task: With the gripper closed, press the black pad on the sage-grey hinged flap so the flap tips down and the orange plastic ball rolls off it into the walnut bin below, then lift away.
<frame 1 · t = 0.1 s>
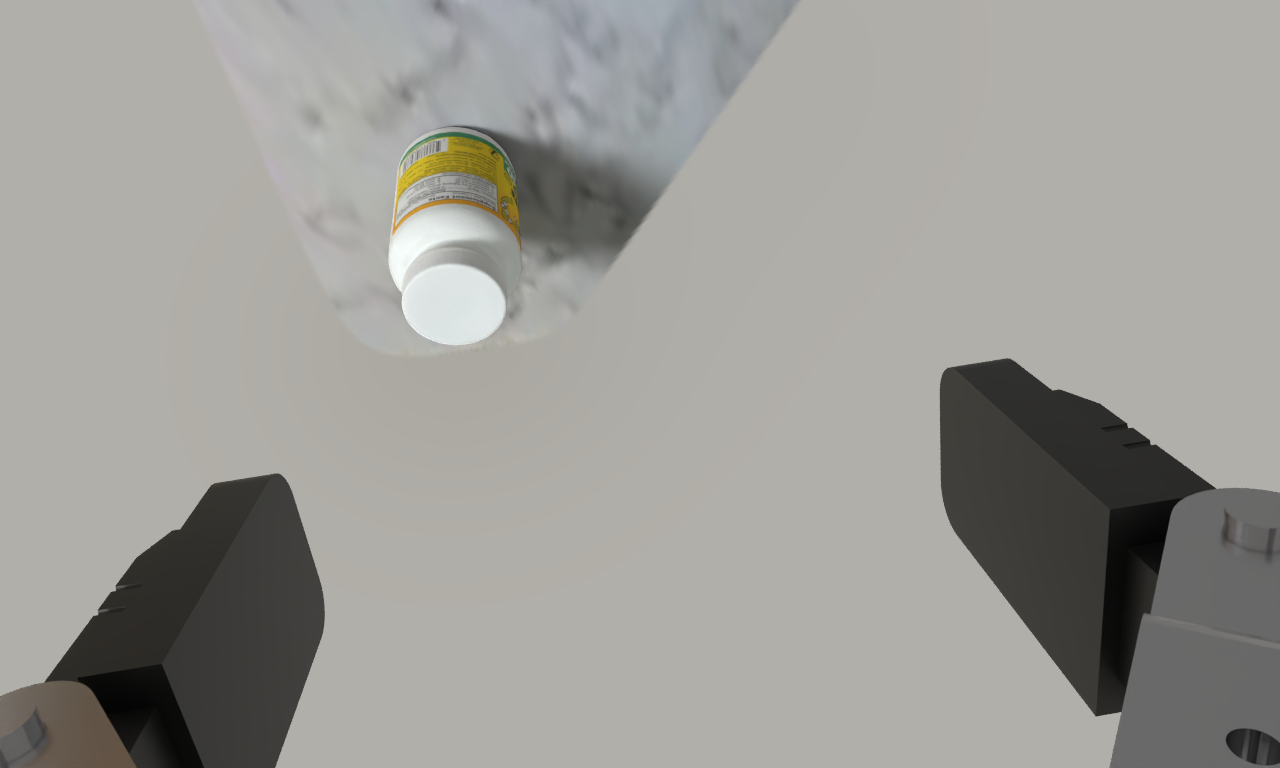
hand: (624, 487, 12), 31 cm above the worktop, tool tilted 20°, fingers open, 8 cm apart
supplement bottle: (457, 175, 43), on the worktop
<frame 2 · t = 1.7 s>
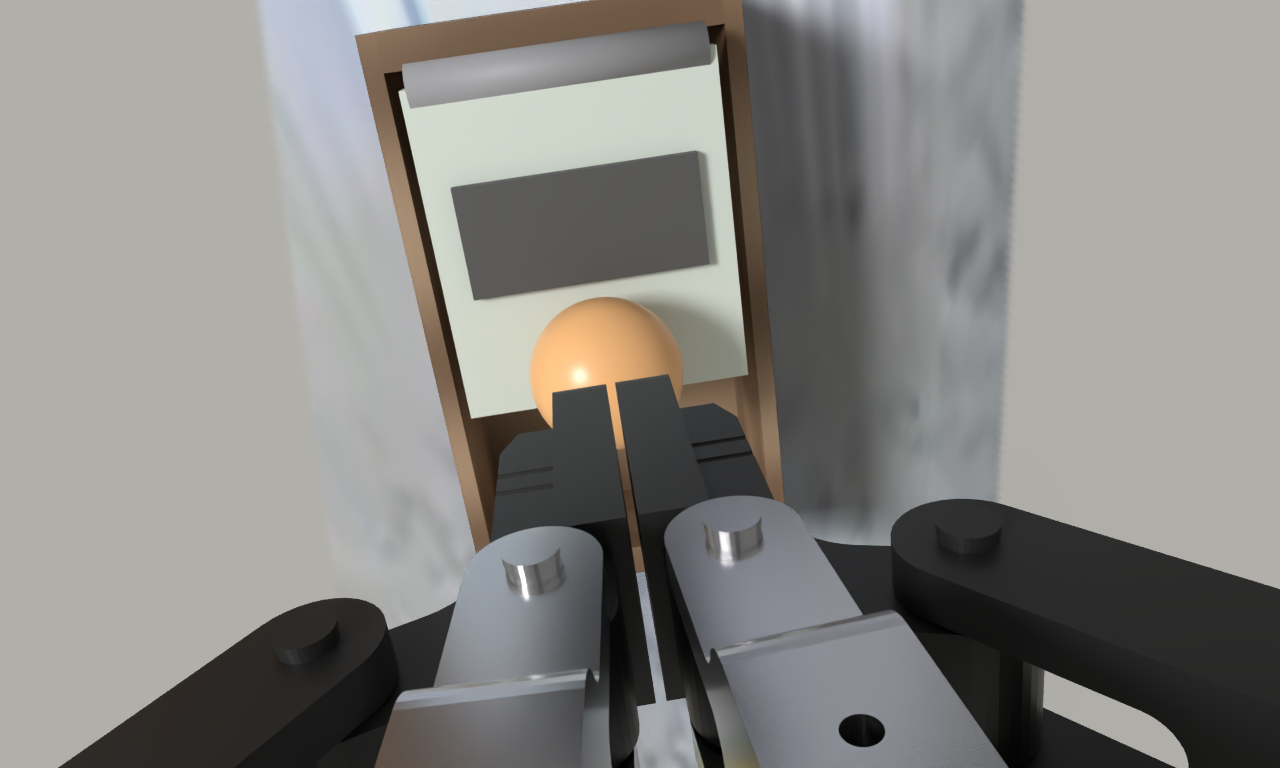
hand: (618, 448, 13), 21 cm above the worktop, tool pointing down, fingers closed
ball: (606, 373, 25), point 9 cm above the worktop, touching flap
bin: (591, 279, 33), on the worktop
flap: (583, 229, 25), point 7 cm above the worktop, hinge at 0.0°, touching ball
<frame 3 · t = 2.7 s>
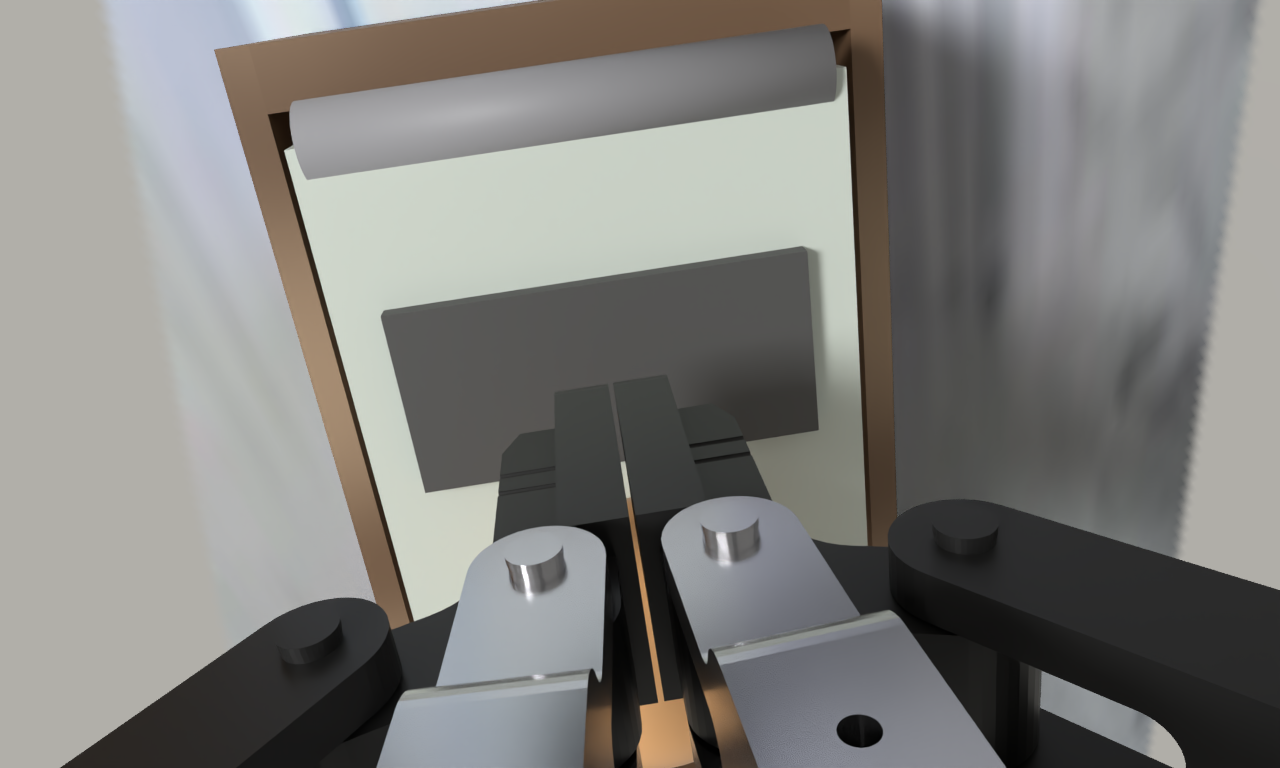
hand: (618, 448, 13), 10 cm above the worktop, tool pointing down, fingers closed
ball: (649, 627, 14), point 9 cm above the worktop, touching flap
bin: (612, 392, 23), on the worktop
flap: (609, 372, 15), point 7 cm above the worktop, hinge at 0.0°, touching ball
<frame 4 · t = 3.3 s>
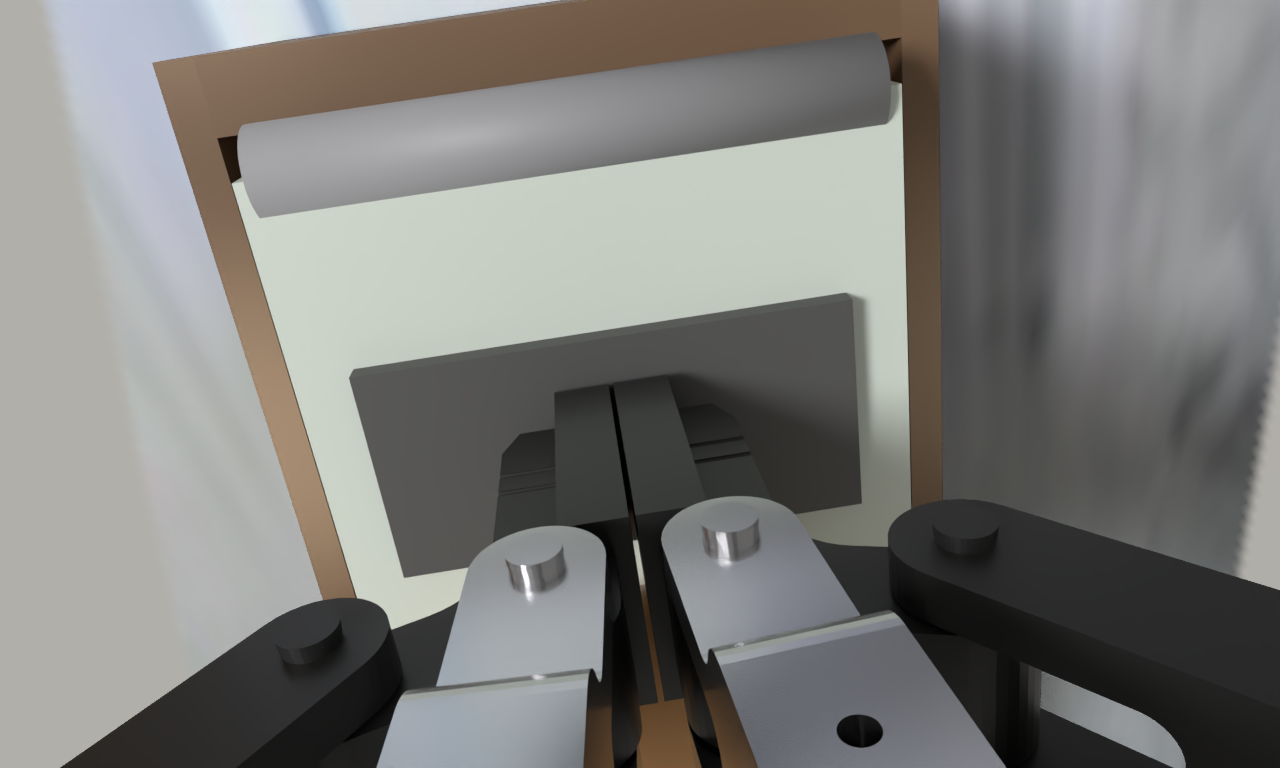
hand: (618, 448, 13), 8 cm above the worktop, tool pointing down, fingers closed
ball: (666, 739, 12), point 9 cm above the worktop, touching flap
bin: (618, 436, 21), on the worktop
flap: (618, 436, 13), point 7 cm above the worktop, hinge at 0.2°, touching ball, gripper
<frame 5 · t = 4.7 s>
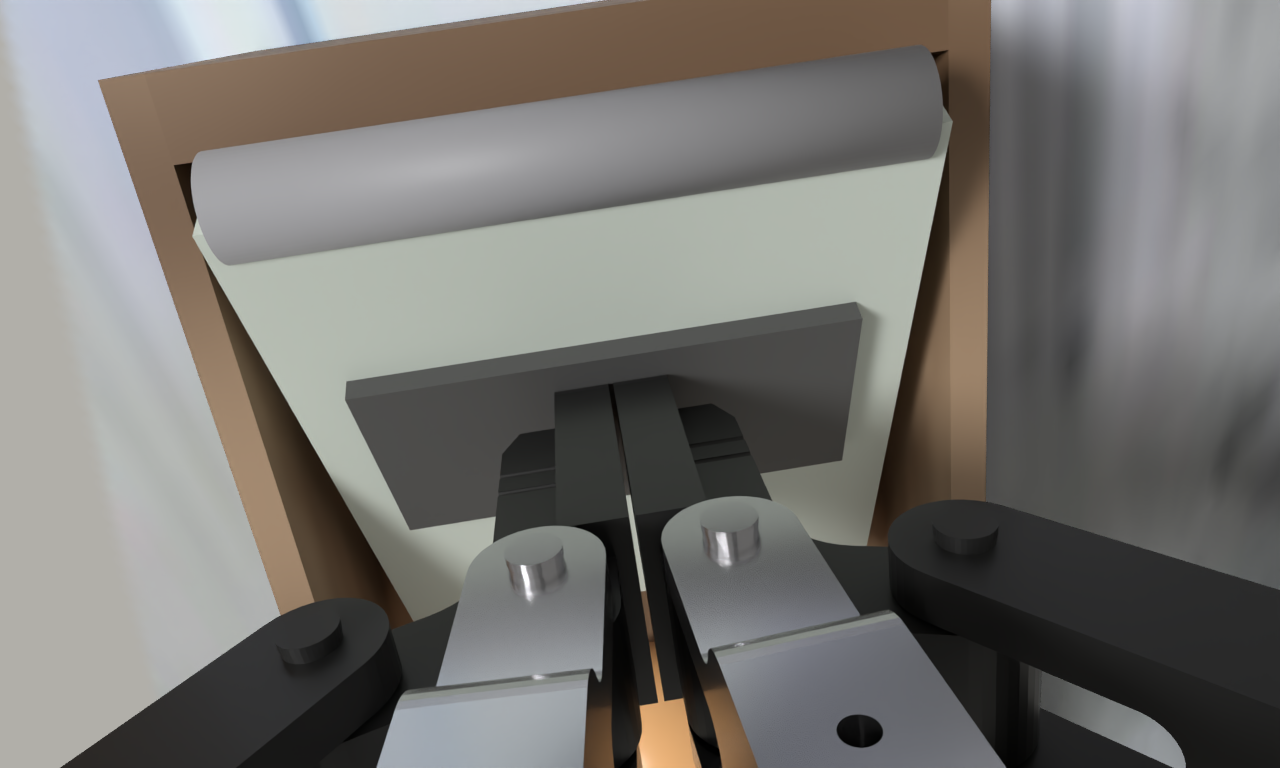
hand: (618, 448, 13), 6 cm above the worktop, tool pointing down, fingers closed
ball: (667, 746, 18), point 3 cm above the worktop, tilted 171°, touching bin
bin: (624, 473, 19), on the worktop
flap: (613, 405, 13), point 5 cm above the worktop, hinge at 26.8°, touching gripper
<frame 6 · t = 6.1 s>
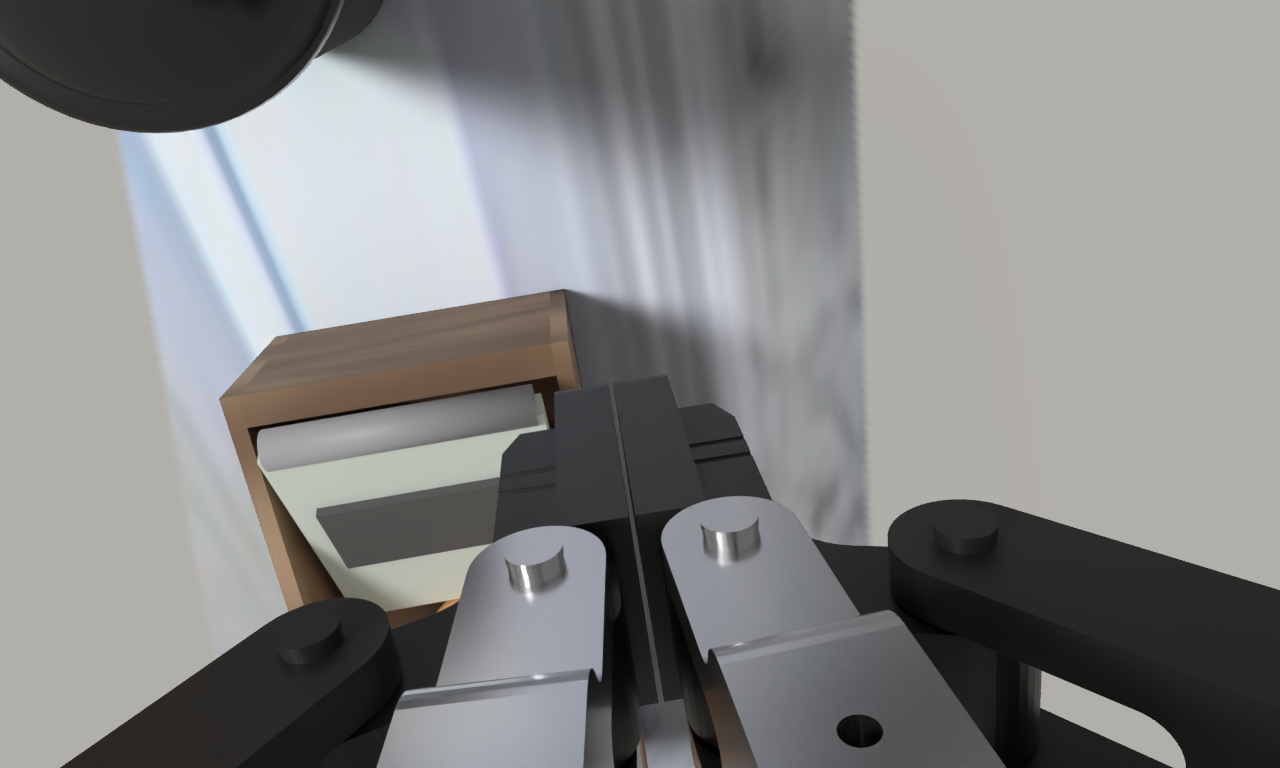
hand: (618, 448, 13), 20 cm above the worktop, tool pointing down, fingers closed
bin: (474, 539, 36), on the worktop
flap: (437, 511, 30), point 5 cm above the worktop, hinge at 28.1°
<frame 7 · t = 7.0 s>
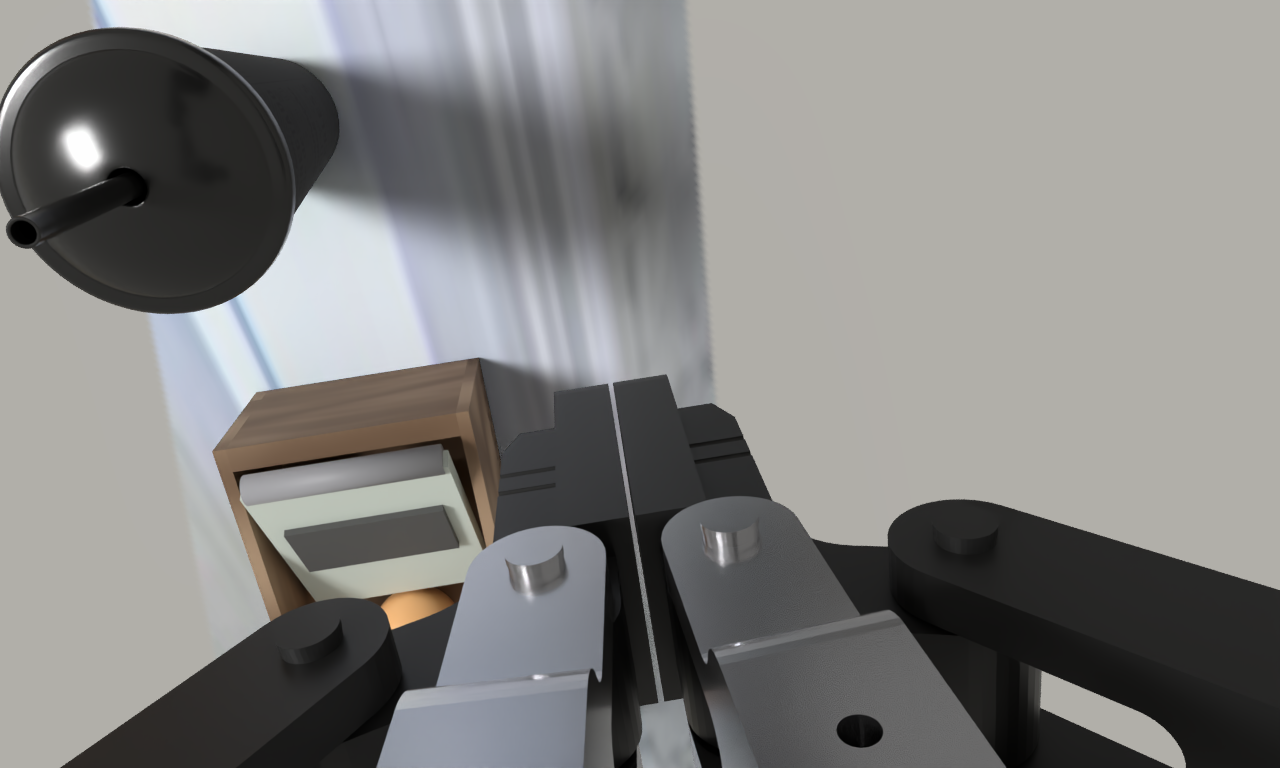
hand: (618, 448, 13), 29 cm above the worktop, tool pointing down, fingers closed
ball: (417, 628, 44), point 3 cm above the worktop, tilted 120°, touching bin
drinking cup: (280, 119, 38), on the worktop
bin: (413, 545, 46), on the worktop
flap: (376, 531, 40), point 5 cm above the worktop, hinge at 28.1°
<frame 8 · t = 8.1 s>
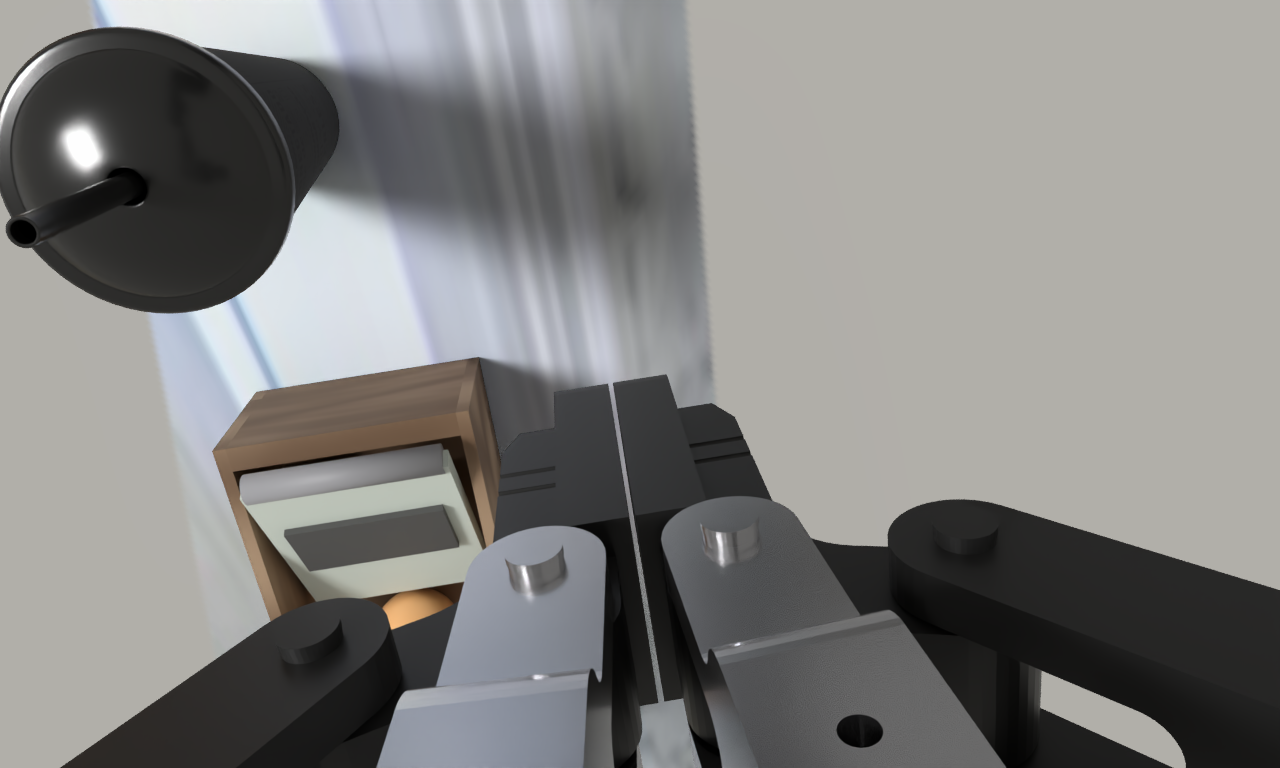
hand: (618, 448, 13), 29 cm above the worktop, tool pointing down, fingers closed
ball: (418, 631, 44), point 3 cm above the worktop, tilted 125°, touching bin
drinking cup: (279, 119, 38), on the worktop
bin: (413, 545, 46), on the worktop
flap: (376, 530, 40), point 5 cm above the worktop, hinge at 28.1°
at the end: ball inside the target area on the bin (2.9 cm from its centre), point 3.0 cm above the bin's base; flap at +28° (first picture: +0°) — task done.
